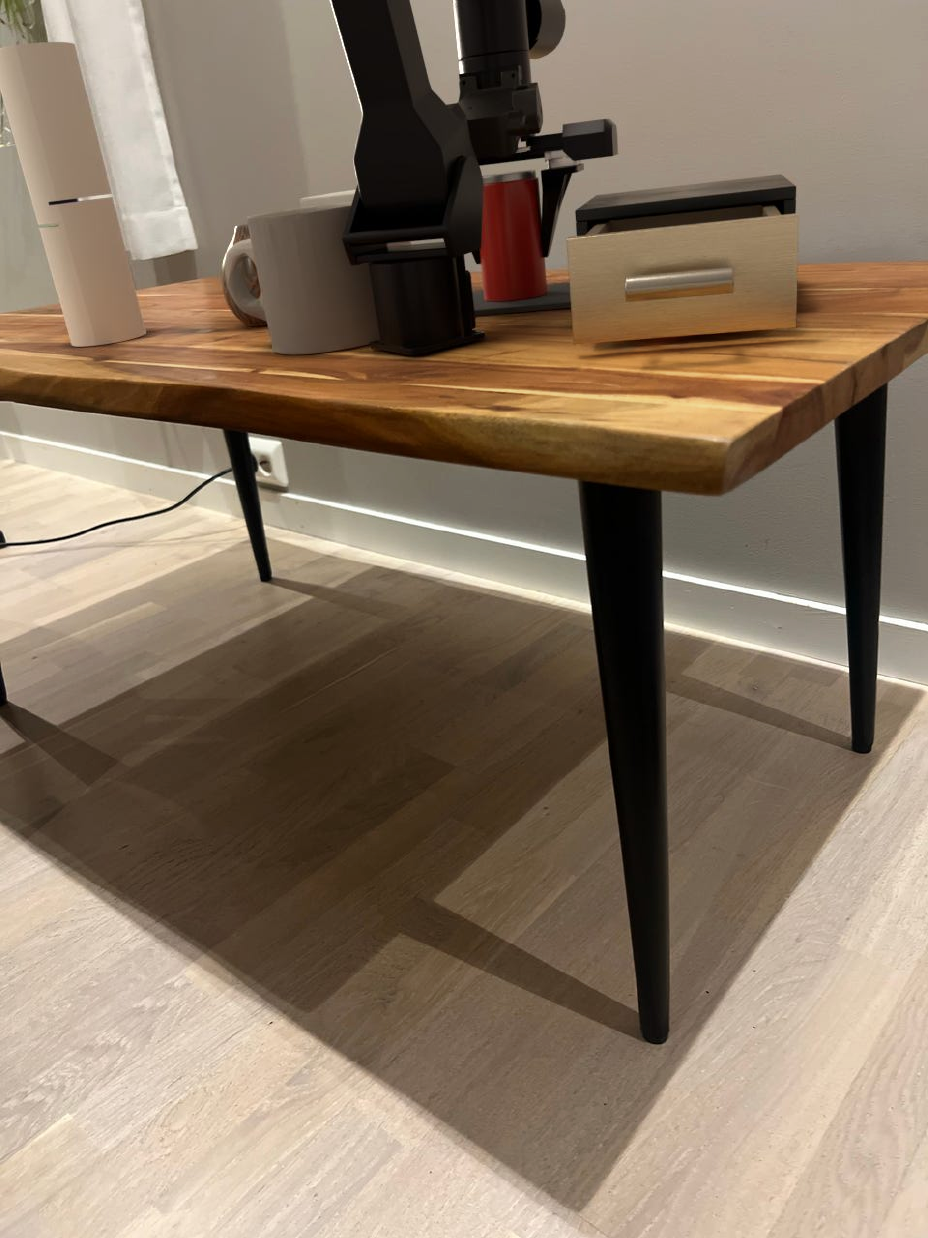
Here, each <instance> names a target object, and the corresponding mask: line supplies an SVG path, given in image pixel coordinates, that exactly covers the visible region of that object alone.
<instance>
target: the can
mask: <svg viewBox="0 0 928 1238" xmlns="http://www.w3.org/2000/svg"><path fill="white" fill-rule="evenodd" d="M536 171H537V170H536V169H524V170H515V171H505V172H500V173H492V174H491V173H490V174H484V175H482V178H483V215H482V245H481V249H479V252H480V261H481V264H480V269H481V280H482V290H484V299H485V300H486V301H489V302H507V301H517V300H525V299H530V298H535V297H539V296H542V295H545V294H546V293H547V284H548V283H547V281H548V280H547V270H546V258H544V257H543V252H542V242H541V231H542V201H541V191H540V179H539V177H538V176H537V172H536Z"/></svg>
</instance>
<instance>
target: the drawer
mask: <svg viewBox="0 0 928 1238" xmlns="http://www.w3.org/2000/svg"><path fill="white" fill-rule="evenodd" d="M799 227H800V214H798V213H797V212H796V214H786V215H781V213H780V212H779V211H778V209H777V208H776V207H775V205H774V204H773V203H772V202H770V203H760V204H751V205H742V206H732V207H723V208H713V209H704V210H695V211H685V212H676V213H667V214H657V215H648V216H639V217H629V218H620V219H611V220H601V221H599V222H598V223H597V224H596V225H595V226H594V227H593V228H592V229H591V230H590V231H589V232H588V233H587V234H586V235H584V236H577V235H575V236H569V237H567V238H566V253H567V267H568V282H569V284H570V298H571V308H570V312H571V325H572V327H571V328H572V340H573V345H582V344H583V345H584V344H596V343H610V342H623V341H624V342H625V341H635V340H650V339H663V338H674V337H689V336H699V335H700V336H701V335H712V334H713V335H714V334H726V333H727V334H728V333H741V332H752V331H753V332H754V331H765V330H777V329H791V328H796V327H797V307H798V305H797V304H798V302H797V301H798V267H799V265H798V263H799V233H800V232H799V231H800V229H799Z"/></svg>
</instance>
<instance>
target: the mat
mask: <svg viewBox="0 0 928 1238" xmlns="http://www.w3.org/2000/svg"><path fill="white" fill-rule="evenodd" d="M472 292H473V301H474V311H475V317H481V316H482V317H484V316H493V315H494V316H495V315H505V314H516V313H528V312H540V311H551V310H553V311H554V310H564V309H571V298H570V284H569V281H567V282H565V281H564V282H556V283H555V282H554V283H547V293H546V294H545V295H542V296H539V297H535V298H530V299H525V300H517V301H507V302H489V301H486V300H485V299H484V290H483V289H480V290H472Z"/></svg>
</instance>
